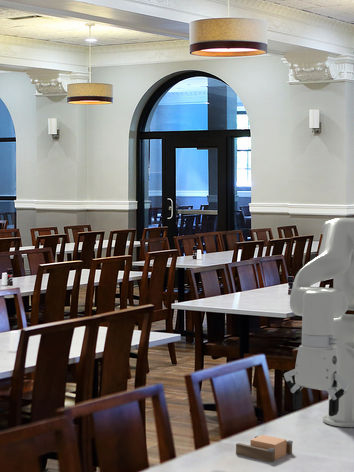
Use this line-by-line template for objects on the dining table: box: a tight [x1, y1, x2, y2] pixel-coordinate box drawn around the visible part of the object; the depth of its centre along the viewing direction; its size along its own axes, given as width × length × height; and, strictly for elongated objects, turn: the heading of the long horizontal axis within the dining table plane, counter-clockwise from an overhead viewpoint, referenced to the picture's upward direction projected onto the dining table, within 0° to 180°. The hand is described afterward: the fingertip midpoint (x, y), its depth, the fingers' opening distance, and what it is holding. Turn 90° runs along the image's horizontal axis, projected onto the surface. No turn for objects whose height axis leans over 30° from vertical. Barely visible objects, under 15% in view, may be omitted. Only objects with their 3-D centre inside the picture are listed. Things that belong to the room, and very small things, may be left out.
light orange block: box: [249, 434, 288, 461], centre depth 216 cm, size 6×7×4 cm
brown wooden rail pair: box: [235, 435, 294, 463], centre depth 217 cm, size 10×10×3 cm
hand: (315, 412), depth 207 cm, fingers open, 9 cm apart
